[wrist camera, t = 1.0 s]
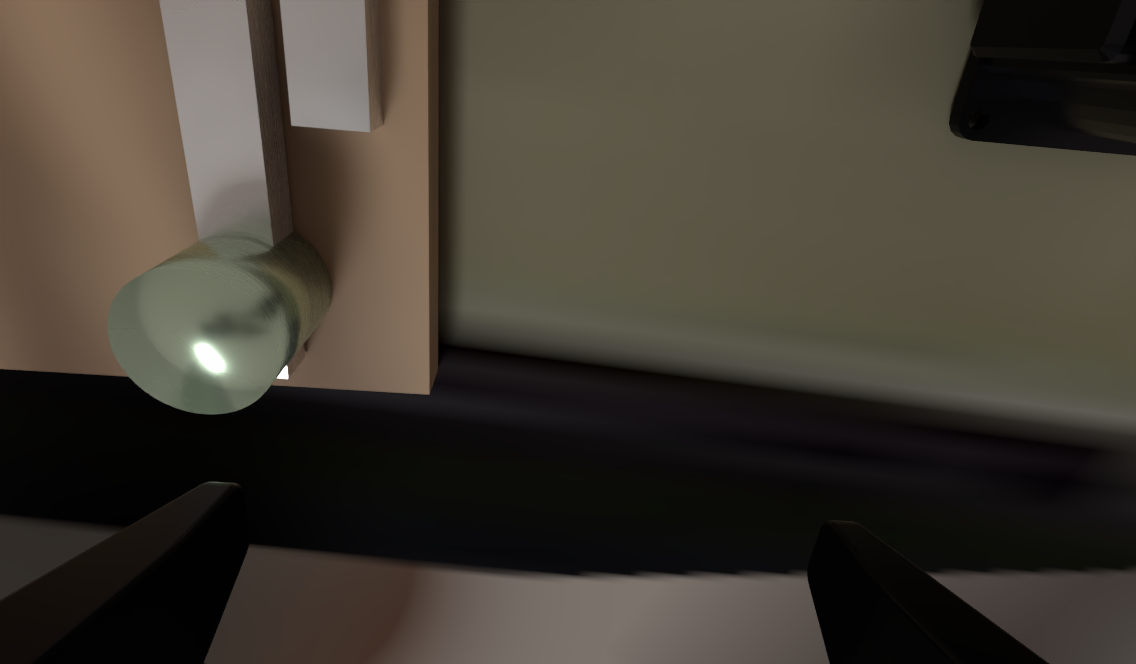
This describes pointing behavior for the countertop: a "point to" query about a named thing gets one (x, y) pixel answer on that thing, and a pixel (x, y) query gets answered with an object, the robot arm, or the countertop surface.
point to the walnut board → (164, 203)
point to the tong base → (333, 63)
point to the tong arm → (224, 228)
